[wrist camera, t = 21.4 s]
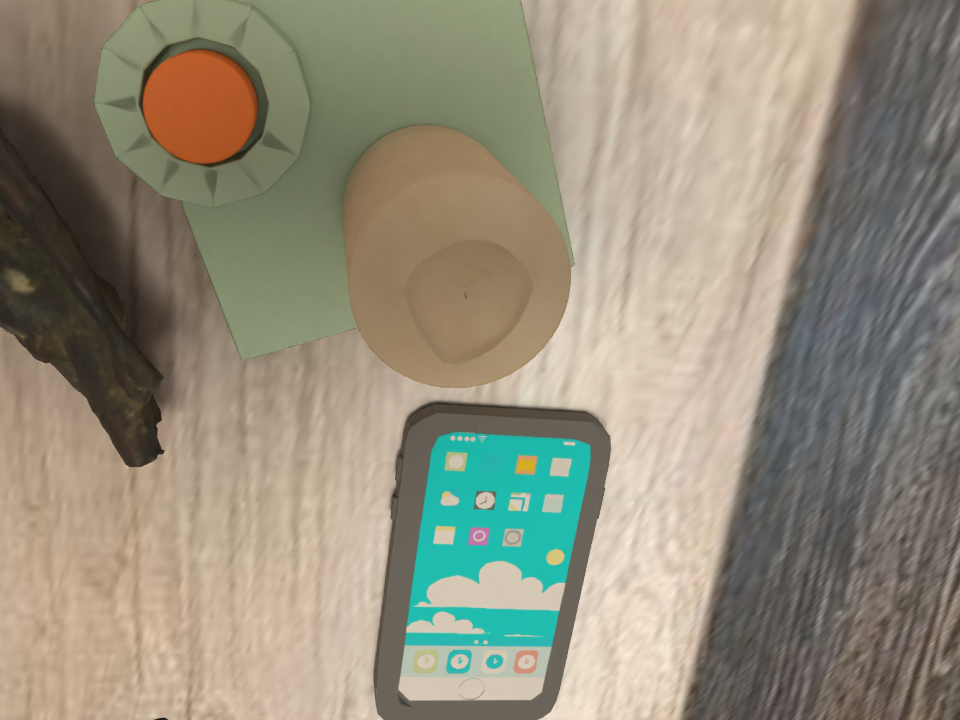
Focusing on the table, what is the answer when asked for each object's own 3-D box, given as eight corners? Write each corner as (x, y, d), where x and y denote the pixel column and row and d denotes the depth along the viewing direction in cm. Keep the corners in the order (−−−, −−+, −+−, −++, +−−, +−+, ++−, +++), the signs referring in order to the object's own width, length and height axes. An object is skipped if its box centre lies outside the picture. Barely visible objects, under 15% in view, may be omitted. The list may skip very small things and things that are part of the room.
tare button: (174, 166, 27) (166, 175, 26) (135, 64, 26) (124, 68, 24) (272, 139, 27) (269, 148, 26) (238, 36, 26) (233, 40, 25)
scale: (219, 349, 33) (208, 388, 29) (90, 20, 28) (60, 24, 25) (562, 252, 33) (588, 280, 30) (491, -85, 29) (513, -94, 26)
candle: (466, 310, 32) (524, 442, 22) (316, 251, 30) (313, 368, 21) (534, 163, 30) (628, 242, 21) (380, 93, 28) (408, 144, 19)
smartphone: (366, 727, 39) (405, 413, 33) (365, 710, 40) (403, 401, 34) (557, 724, 41) (624, 425, 35) (552, 708, 42) (616, 414, 36)
